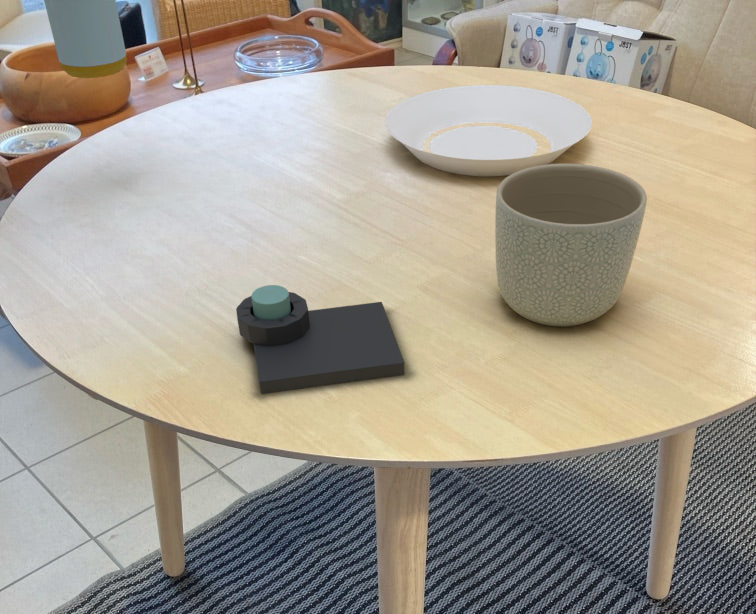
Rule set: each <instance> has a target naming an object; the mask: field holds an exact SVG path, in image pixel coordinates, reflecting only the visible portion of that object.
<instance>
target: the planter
mask: <svg viewBox="0 0 756 614" xmlns="http://www.w3.org/2000/svg"><path fill="white" fill-rule="evenodd" d="M647 201H648V196H647V192H646V191H645V189H644V187H643V186H641V184H640V183H639V182H637V181H636V180H634V179H633V178H631V177H630V176H628V175H626V174H623V173H621V172H619V171H616V170H613V169H609V168H605V167H601V166H597V165H590V164H589V165H588V164H582V163H550V164H548V165H540V166H535V167H530V168H526V169H523V170H520V171H518V172H515V173H513V174H511V175H507V177H505V178H504V179H503V180H501V182H500V183H499V184H498V187H497V189H496V197H495V217H494V219H495V220H494V221H495V222H494V223H495V227H494V228H495V229H494V231H495V234H494V236H495V239H494V241H495V268H496V279H497V280H496V281H497V285H498V290H499V292H500V294H501V297H502V298H503V300H504V302H505V303H506V304H507V305H508V307H510V308H511V310H513V311H514V312H515V313H516V314H518V315H519V316H521V317H522V318H524V319H526V320H528V321H530V322H532V323H536V324H539V325H543V326H548V327H556V328H557V327H560V328H561V327H564V328H565V327H574V326H579V325H584V324H587V323H589V322H591V321H594V320H596V319H598V318H600V317H601V316H603V315H604V314H605V313H607V312H609V310H611V309H612V307H613V306H614V305H615V304H616V303H617V301H618V300H619V298H620V297H621V295H622V292H623V290H624V287H625V284H626V282H627V279H628V276H629V273H630V270H631V267H632V263H633V260H634V256H635V253H636V249H637V246H638V242H639V237H640V235H641V230H642V227H643V223H644V217H645V213H646V208H647Z"/></svg>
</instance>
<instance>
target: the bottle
mask: <svg viewBox="0 0 756 614" xmlns="http://www.w3.org/2000/svg"><path fill="white" fill-rule="evenodd" d="M43 3H44V7H45V10H46V14H47V18H48V22H49V27H50V30H51V35H52V38H53V42H54V46H55V50H56V54H57V58H58V61H59V66H60V68H61V69H62V70H63V71H64V72H65V74H67V75H68V76H70V77H72V78H73V77H74V78H77V79H98V78H104V77H109V76H113V75H116V74H118V73H120V72H122V71H123V70H124V68H125V66H126V64H127V63H128V58H127V50H126V46H125V41H124V40H125V39H124V36H123V29H122V26H121V21H120V16H119V15H120V14H119V10H118V6H117V1H116V0H43Z"/></svg>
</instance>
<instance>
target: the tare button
mask: <svg viewBox="0 0 756 614" xmlns="http://www.w3.org/2000/svg"><path fill="white" fill-rule="evenodd" d="M289 292H290V291H289V290H288V289H287V288H286V287H284V286H281V285H276V284H269V285H263V286H260V287H258V288H255V290H253V292H252V293H251V295H250V296H251V298H252V305H253V311H254V315H255V317H256V318H257V319H262V320H277V319H281V318H283V317H286V316H288V315H289V314H290V312H291V307H290V299H289Z"/></svg>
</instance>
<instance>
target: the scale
mask: <svg viewBox="0 0 756 614" xmlns="http://www.w3.org/2000/svg"><path fill="white" fill-rule="evenodd" d="M288 292H289V299H290V307H291V312H290V314H289V315H288V316H286V317H283V318H281V319H277V320H262V319H257V318H256V317H255V315H254V311H253V305H252V298H251V295H250V296H248V297H246V298H244V299H243V300H242V301H241V302H240V303H239V304H238V306H236V308H235V311H236V319H237V325H238V331H239V335H240V337H242V338H243V339H244V340H245V341H247V342H248V343H250V344H253V348H254V355H255V362H256V369H257V376H258V383H259V389H260V390H259V391H260V394H261V395H265V394H272V393H279V392H287V391H295V390H302V389H304V390H305V389H310V388H318V387H319V388H320V387H325V386H333V385H339V384H348V383H354V382H362V381H369V380H378V379H386V378H392V377H400V376H405V360H404V357H403V355H402V352H401V350H400V347H399V344H398V341H397V339H396V336H395V333H394V332H393V331H394V330H393V328H392V325H391V322H390V319H389V318H388V314H387V312H386V310H385V306H384V303H383V302H382V301H376V302H367V303H361V304H352V305H344V306H336V307H328V308H327V307H326V308H321V309H320V308H319V309H311V310H309V307H308V302H307V299H305V298H304V297H303V296H301V295H299V294H297V293H295V292H292V291H288Z"/></svg>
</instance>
